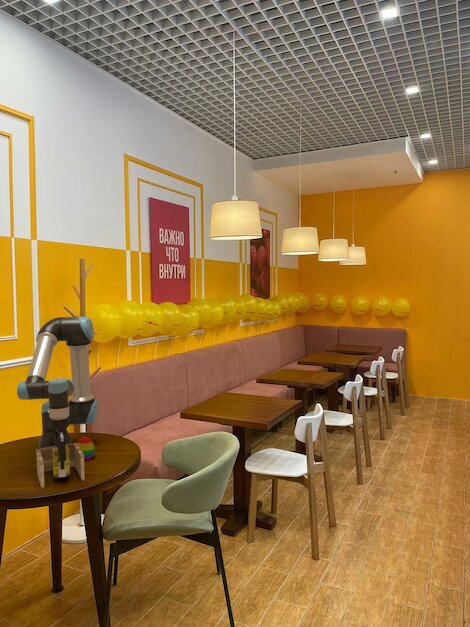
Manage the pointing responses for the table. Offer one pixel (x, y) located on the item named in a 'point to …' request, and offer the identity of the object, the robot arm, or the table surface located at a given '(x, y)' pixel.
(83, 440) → the decorative egg
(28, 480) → the table surface
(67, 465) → the supplement box
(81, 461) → the brown wooden frame
